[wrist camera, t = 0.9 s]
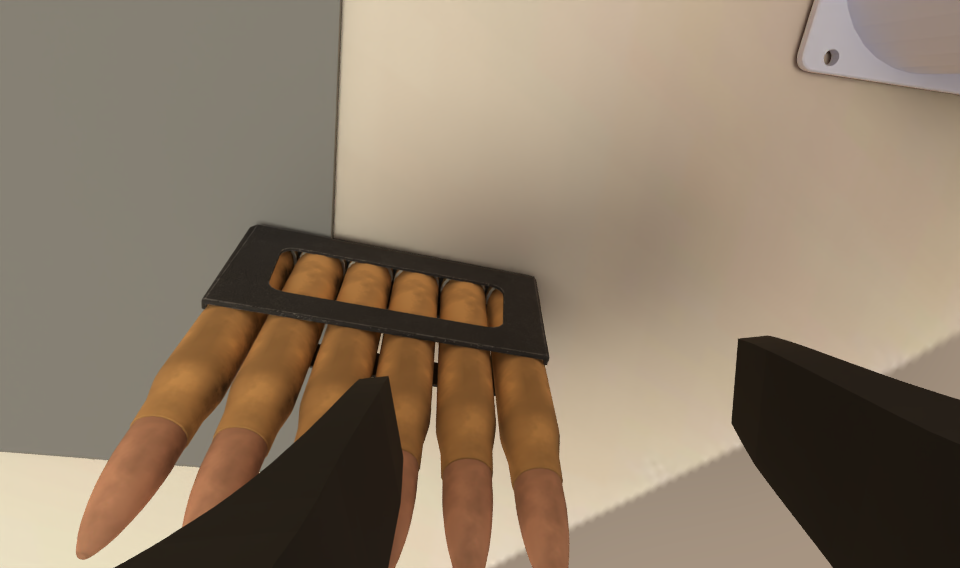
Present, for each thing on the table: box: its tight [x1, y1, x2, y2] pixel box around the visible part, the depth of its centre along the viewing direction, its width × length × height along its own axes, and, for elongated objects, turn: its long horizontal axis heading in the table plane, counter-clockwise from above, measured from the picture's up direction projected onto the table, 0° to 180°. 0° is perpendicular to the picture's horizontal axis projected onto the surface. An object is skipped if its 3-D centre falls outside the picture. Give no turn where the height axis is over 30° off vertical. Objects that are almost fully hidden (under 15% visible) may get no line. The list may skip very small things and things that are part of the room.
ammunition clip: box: [76, 224, 569, 568], centre depth 15 cm, size 11×2×12 cm, turn 77°
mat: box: [0, 0, 342, 472], centre depth 20 cm, size 18×20×1 cm
